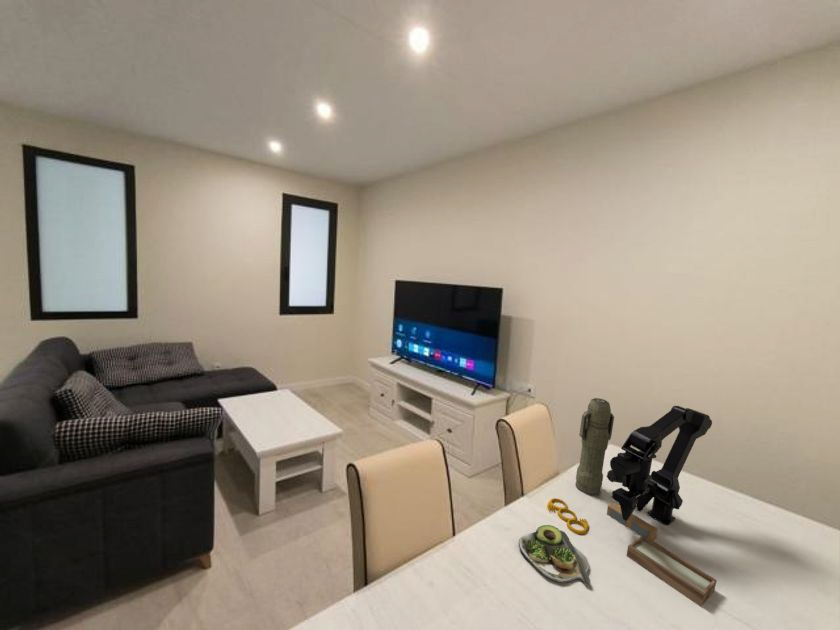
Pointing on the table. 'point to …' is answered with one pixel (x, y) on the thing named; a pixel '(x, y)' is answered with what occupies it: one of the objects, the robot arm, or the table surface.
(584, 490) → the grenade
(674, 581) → the brown picture frame
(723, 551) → the table surface
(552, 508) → the gold linked rings
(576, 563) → the salad plate
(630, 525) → the tan rectangular block
